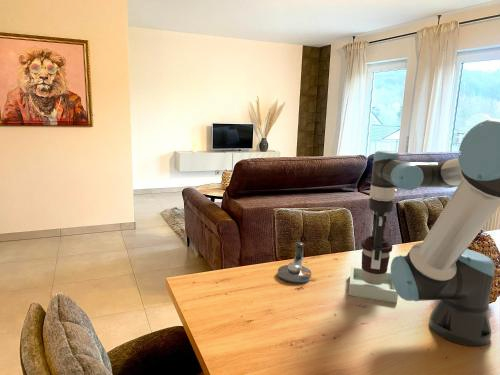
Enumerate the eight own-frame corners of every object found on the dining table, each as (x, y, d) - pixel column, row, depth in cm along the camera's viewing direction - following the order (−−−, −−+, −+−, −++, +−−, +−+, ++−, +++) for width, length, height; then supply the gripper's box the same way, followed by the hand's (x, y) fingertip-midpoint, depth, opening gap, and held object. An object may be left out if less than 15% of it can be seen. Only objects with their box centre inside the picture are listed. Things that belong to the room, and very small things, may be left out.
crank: (300, 274, 133) (301, 255, 131) (286, 272, 134) (287, 253, 132) (305, 260, 145) (307, 243, 144) (293, 258, 146) (294, 241, 145)
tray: (397, 302, 120) (398, 291, 119) (348, 295, 124) (349, 284, 123) (393, 282, 134) (394, 272, 133) (350, 276, 138) (351, 266, 137)
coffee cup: (354, 282, 126) (359, 240, 123) (361, 272, 135) (365, 232, 132) (385, 290, 122) (390, 246, 118) (390, 278, 130) (394, 237, 127)
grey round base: (314, 287, 128) (314, 281, 128) (274, 280, 132) (274, 275, 132) (318, 273, 140) (318, 268, 139) (281, 267, 143) (281, 262, 143)
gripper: (396, 207, 111) (388, 277, 115) (391, 192, 132) (384, 252, 136) (370, 205, 113) (363, 274, 117) (369, 190, 134) (363, 249, 138)
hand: (374, 262), depth 127 cm, fingers closed on coffee cup, 10 cm apart
